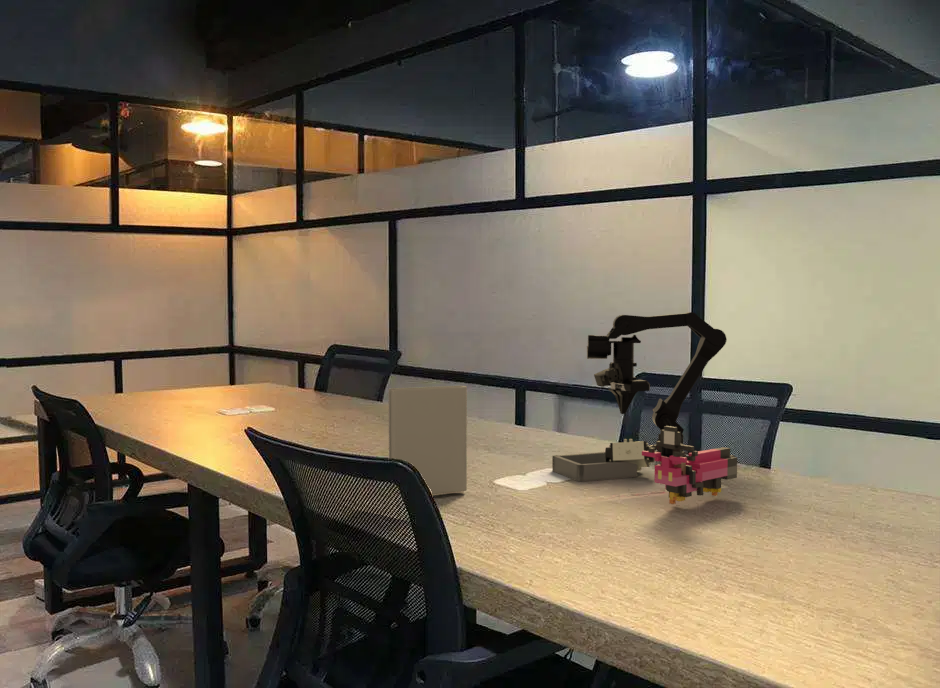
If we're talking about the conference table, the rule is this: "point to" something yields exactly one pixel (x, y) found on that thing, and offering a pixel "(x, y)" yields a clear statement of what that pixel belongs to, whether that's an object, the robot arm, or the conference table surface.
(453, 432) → the book
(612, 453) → the pneumatic valve
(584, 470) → the housing bay
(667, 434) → the figurine
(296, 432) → the conference table surface
